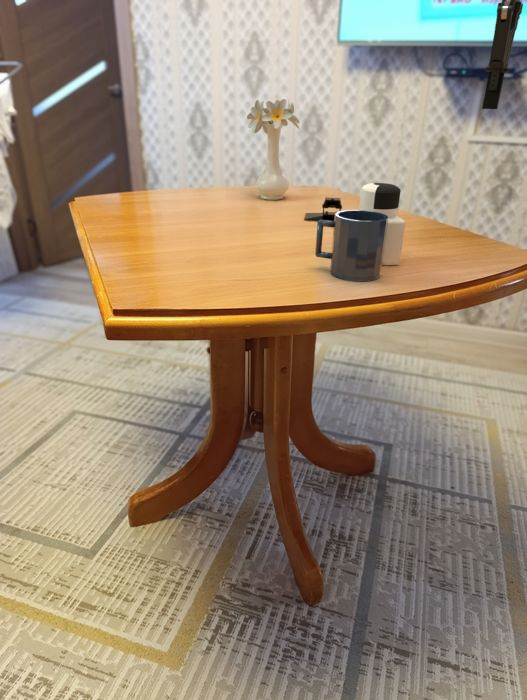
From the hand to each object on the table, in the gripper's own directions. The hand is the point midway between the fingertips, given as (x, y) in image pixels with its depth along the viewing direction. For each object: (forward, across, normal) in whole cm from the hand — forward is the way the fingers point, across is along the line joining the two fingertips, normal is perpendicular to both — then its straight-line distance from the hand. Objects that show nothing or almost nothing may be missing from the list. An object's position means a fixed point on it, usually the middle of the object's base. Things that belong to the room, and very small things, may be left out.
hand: (489, 108), depth 102 cm
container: (+25, +34, -10) cm, 43 cm away
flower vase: (+25, -7, -54) cm, 60 cm away
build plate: (+25, +7, -29) cm, 39 cm away
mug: (+24, +43, -11) cm, 51 cm away
